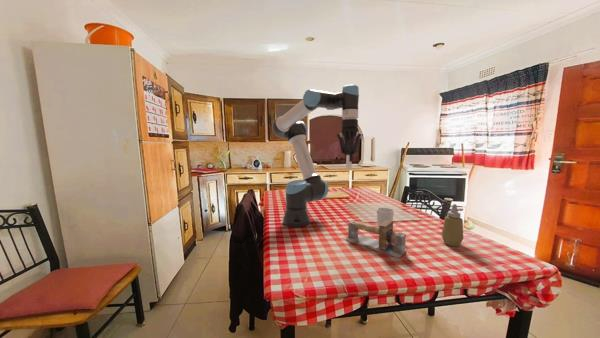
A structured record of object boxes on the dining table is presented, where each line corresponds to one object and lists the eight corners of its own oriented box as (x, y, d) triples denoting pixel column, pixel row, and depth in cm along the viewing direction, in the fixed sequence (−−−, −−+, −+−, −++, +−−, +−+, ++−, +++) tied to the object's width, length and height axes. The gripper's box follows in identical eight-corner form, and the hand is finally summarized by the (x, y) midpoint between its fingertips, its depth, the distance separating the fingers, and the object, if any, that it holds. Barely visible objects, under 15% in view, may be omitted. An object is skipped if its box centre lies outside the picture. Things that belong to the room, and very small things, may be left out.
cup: (394, 237, 107) (395, 212, 105) (376, 235, 109) (377, 211, 107) (391, 230, 115) (392, 207, 113) (374, 229, 116) (375, 206, 115)
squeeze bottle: (459, 241, 102) (462, 202, 100) (465, 249, 94) (469, 208, 92) (438, 238, 105) (441, 201, 102) (443, 246, 97) (446, 206, 95)
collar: (378, 248, 93) (379, 225, 92) (386, 241, 99) (387, 219, 98) (384, 250, 91) (385, 226, 90) (392, 242, 98) (393, 220, 96)
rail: (345, 240, 104) (346, 222, 102) (354, 234, 109) (354, 218, 108) (399, 258, 88) (400, 237, 87) (406, 250, 93) (407, 231, 92)
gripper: (334, 119, 109) (333, 167, 112) (358, 117, 100) (357, 169, 103) (342, 120, 114) (341, 166, 117) (366, 118, 106) (364, 168, 109)
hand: (348, 168), depth 110 cm, fingers closed
